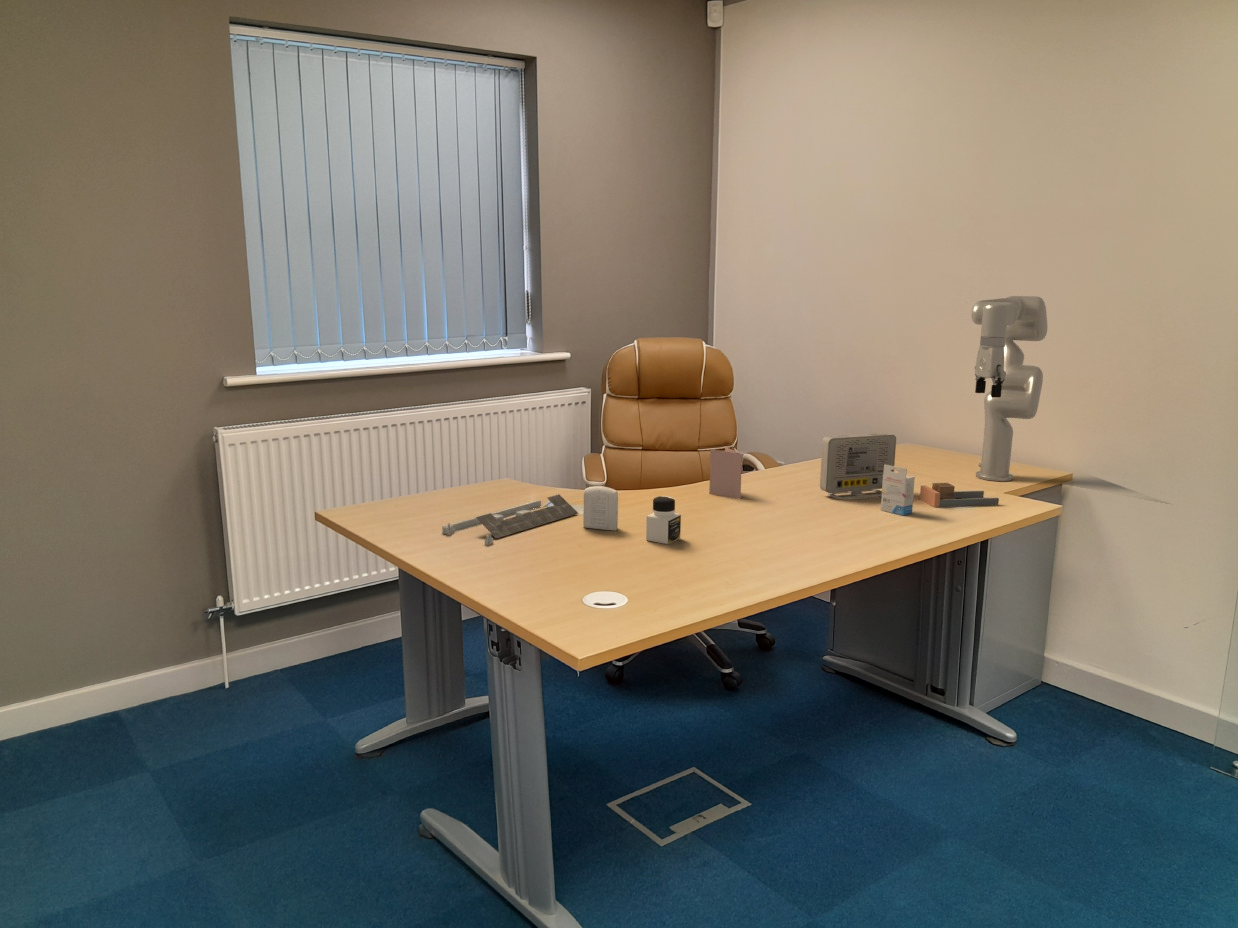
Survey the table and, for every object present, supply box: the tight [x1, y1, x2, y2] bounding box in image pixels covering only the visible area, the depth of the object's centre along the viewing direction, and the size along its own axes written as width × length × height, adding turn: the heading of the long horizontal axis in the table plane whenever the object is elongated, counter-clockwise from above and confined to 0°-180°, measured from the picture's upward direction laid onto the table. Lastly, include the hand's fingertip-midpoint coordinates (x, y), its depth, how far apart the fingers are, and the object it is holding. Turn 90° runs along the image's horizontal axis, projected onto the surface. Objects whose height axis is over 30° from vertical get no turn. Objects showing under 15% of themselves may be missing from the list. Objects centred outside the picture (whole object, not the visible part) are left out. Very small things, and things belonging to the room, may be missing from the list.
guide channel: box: [919, 485, 1000, 508], centre depth 297 cm, size 10×22×4 cm, turn 98°
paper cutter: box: [441, 493, 584, 546], centre depth 271 cm, size 18×45×6 cm, turn 141°
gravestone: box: [582, 485, 619, 531], centre depth 265 cm, size 10×4×12 cm, turn 73°
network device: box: [819, 432, 897, 500], centre depth 304 cm, size 26×9×20 cm, turn 108°
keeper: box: [931, 482, 956, 499], centre depth 296 cm, size 5×5×6 cm
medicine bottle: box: [645, 495, 682, 545], centre depth 255 cm, size 7×7×12 cm
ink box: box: [880, 465, 916, 516], centre depth 284 cm, size 8×5×15 cm, turn 39°
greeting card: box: [708, 446, 743, 499], centre depth 303 cm, size 11×7×15 cm, turn 22°
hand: (987, 395), depth 301 cm, fingers open, 9 cm apart
